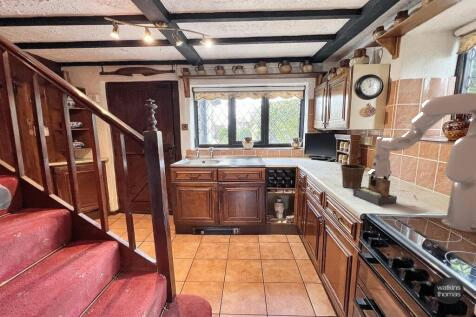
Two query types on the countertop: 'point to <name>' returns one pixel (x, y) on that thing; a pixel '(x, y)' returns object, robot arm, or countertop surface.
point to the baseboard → (406, 195)
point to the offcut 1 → (365, 191)
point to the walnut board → (380, 186)
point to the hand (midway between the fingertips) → (378, 185)
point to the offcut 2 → (375, 194)
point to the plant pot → (352, 175)
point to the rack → (374, 198)
